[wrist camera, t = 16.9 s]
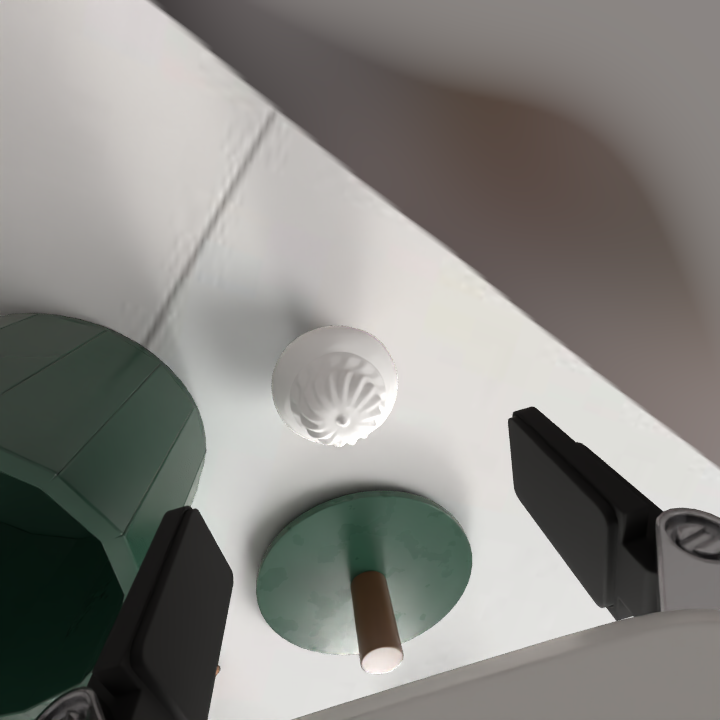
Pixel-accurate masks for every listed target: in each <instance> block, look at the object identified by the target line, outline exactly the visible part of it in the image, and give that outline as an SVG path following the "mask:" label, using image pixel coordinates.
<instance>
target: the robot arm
mask: <svg viewBox="0 0 720 720" xmlns="http://www.w3.org/2000/svg"><path fill="white" fill-rule="evenodd" d="M508 427H509V438H510V449H511V460H512V471H513V482H514V489H515V492H516V495H517V497H518V498H519V500H520V501H521V503H522V504H523V506H524V507H525V508H526V510H527V511H528V512H529V514H530V515H531V516H532V518H533V519H534V520H535V522H536V523H537V524H538V526H539V527H540V529H541V530H542V531H543V533H544V534H545V535H546V537H547V538H548V539H549V541H550V542H551V543H552V545H553V546H554V548H555V549H556V550H557V552H558V553H559V554H560V556H561V557H562V558H563V560H564V561H565V562H566V564H567V565H568V567H569V568H570V569H571V571H572V572H573V573H574V575H575V576H576V577H577V579H578V580H579V581H580V583H581V584H582V585H583V587H584V588H585V590H586V591H587V592H588V594H589V595H590V596H591V598H592V599H593V600H594V602H595V603H596V604H597V605H598V606H599V607H601V608H604V607H606V608H607V609H608V610H609V612H610V613H611V614H612V616H613V617H614V618H615V620H616V621H615V622H612V623H608V624H605V625H601V626H598V627H594V628H590V629H587V630H583V631H580V632H576V633H573V634H569V635H566V636H562V637H558V638H555V639H552V640H548V641H545V642H542V643H538V644H535V645H532V646H529V647H525V648H522V649H519V650H515V651H512V652H509V653H505V654H502V655H499V656H496V657H492V658H489V659H486V660H482V661H479V662H476V663H473V664H469V665H466V666H463V667H459V668H456V669H453V670H450V671H446V672H443V673H440V674H437V675H433V676H430V677H427V678H424V679H420V680H417V681H414V682H411V683H407V684H404V685H401V686H398V687H395V688H391V689H388V690H385V691H382V692H378V693H375V694H372V695H369V696H366V697H362V698H359V699H356V700H353V701H349V702H346V703H343V704H340V705H337V706H333V707H330V708H327V709H324V710H321V711H318V712H314V713H311V714H308V715H305V716H302V717H299V718H295V719H292V720H720V518H719V517H717V516H715V515H712V514H710V513H707V512H704V511H700V510H696V509H689V508H674V509H669V510H667V511H664V512H663V511H662V510H661V509H660V508H659V507H657V506H656V505H655V504H654V503H653V502H651V501H650V500H649V499H648V498H647V497H645V496H644V495H643V494H642V493H641V492H640V491H638V490H637V489H636V488H635V487H634V486H632V485H631V484H630V483H629V482H628V481H627V480H625V479H624V478H623V477H622V476H621V475H619V474H618V473H617V472H616V471H615V470H613V469H612V468H611V467H610V466H609V465H608V464H606V463H605V462H604V461H603V460H602V459H600V458H599V457H598V456H597V455H596V454H595V453H593V452H592V451H591V450H590V449H589V448H587V447H586V446H585V445H583V444H582V443H578V442H575V441H574V440H573V439H571V438H570V437H569V436H568V435H567V434H566V433H564V432H563V431H562V430H561V429H560V428H559V427H557V426H556V425H555V424H554V423H553V422H552V421H551V420H549V419H548V418H547V417H546V416H545V415H544V414H542V413H541V412H540V411H539V410H538V409H537V408H535V407H529V408H525V409H522V410H518V411H515V412H513V417H512V418H509V419H508ZM232 587H233V573H232V570H231V568H230V566H229V565H228V563H227V561H226V559H225V557H224V556H223V554H222V552H221V550H220V548H219V547H218V545H217V543H216V541H215V539H214V538H213V536H212V534H211V532H210V530H209V529H208V527H207V525H206V523H205V521H204V519H203V518H202V516H201V514H200V512H199V511H198V510H197V509H192V508H191V507H190V506H183V507H180V508H176V509H173V510H169V511H167V512H166V513H165V514H164V516H163V518H162V521H161V523H160V525H159V527H158V529H157V531H156V534H155V536H154V538H153V540H152V542H151V544H150V547H149V549H148V551H147V553H146V555H145V558H144V560H143V562H142V564H141V566H140V568H139V571H138V573H137V575H136V577H135V579H134V582H133V584H132V586H131V588H130V590H129V592H128V595H127V597H126V599H125V601H124V603H123V605H122V608H121V610H120V612H119V614H118V616H117V619H116V621H115V623H114V625H113V627H112V629H111V632H110V634H109V636H108V638H107V640H106V642H105V645H104V647H103V649H102V651H101V653H100V656H99V658H98V660H97V662H96V664H95V666H94V669H93V671H92V675H91V678H90V680H89V682H88V684H87V686H86V687H85V686H83V687H78V688H74V689H72V690H70V691H68V692H66V693H64V694H62V695H61V696H59V697H58V698H57V699H55V700H54V701H53V702H51V703H50V704H49V705H48V706H47V707H46V708H45V709H44V710H43V711H42V712H41V713H40V714H39V715H38V716H37V717H36V718H35V719H34V720H207V719H208V713H209V708H210V703H211V698H212V692H213V687H214V682H215V677H216V671H217V666H218V661H219V656H220V650H221V645H222V640H223V635H224V629H225V624H226V619H227V614H228V608H229V603H230V598H231V593H232ZM631 616H634V617H632V618H628V617H631ZM625 618H628V619H625ZM621 619H623V620H621ZM618 620H619V621H618Z"/></svg>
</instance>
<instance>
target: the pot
mask: <svg viewBox="0 0 720 720" xmlns="http://www.w3.org/2000/svg"><path fill="white" fill-rule="evenodd" d="M205 454H206V438H205V432H204V426H203V422H202V419H201V416H200V413H199V411H198V408H197V406H196V404H195V402H194V400H193V398H192V396H191V395H190V393H189V392H188V390H187V389H186V387H185V386H184V385H183V383H182V382H181V380H180V379H179V378H178V377H177V376H176V375H175V374H174V373H173V372H172V370H171V369H170V368H169V367H168V366H167V365H165V364H164V363H163V362H162V361H161V360H160V359H159V358H157V357H156V356H155V355H154V354H152V353H151V352H150V351H148V350H147V349H145V348H144V347H142V346H141V345H140V344H138V343H136V342H134V341H132V340H131V339H129V338H127V337H125V336H123V335H122V334H120V333H117V332H115V331H112V330H110V329H108V328H105V327H103V326H100V325H97V324H94V323H91V322H87V321H84V320H81V319H76V318H71V317H66V316H61V315H53V314H40V313H22V314H8V315H2V316H0V720H34V719H35V718H36V717H37V716H38V715H39V714H40V713H41V712H42V711H43V710H44V709H45V708H46V707H47V706H48V705H49V704H50V703H51V702H53V701H54V700H55V699H57V698H58V697H59V696H61V695H62V694H64V693H66V692H68V691H70V690H72V689H74V688H78V687H83V686H85V687H86V686H87V684H88V682H89V680H90V678H91V675H92V671H93V669H94V666H95V664H96V662H97V660H98V658H99V656H100V653H101V651H102V649H103V647H104V645H105V642H106V640H107V638H108V636H109V634H110V632H111V629H112V627H113V625H114V623H115V621H116V619H117V616H118V614H119V612H120V610H121V608H122V605H123V603H124V601H125V599H126V597H127V595H128V592H129V590H130V588H131V586H132V584H133V582H134V579H135V577H136V575H137V573H138V571H139V568H140V566H141V564H142V562H143V560H144V558H145V555H146V553H147V551H148V549H149V547H150V544H151V542H152V540H153V538H154V536H155V534H156V531H157V529H158V527H159V525H160V523H161V521H162V518H163V516H164V514H165V513H166V512H167V511H169V510H173V509H176V508H180V507H183V506H190V507H191V504H192V502H193V499H194V497H195V494H196V491H197V488H198V484H199V480H200V476H201V472H202V469H203V466H204V460H205Z"/></svg>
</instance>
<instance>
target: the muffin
mask: <svg viewBox="0 0 720 720" xmlns="http://www.w3.org/2000/svg"><path fill="white" fill-rule="evenodd" d="M397 391H398V375H397V371H396V367H395V364H394V362H393V359H392V357H391V355H390V353H389V351H388V350H387V348H386V347H385V346H384V345H383V343H382V342H380V341H379V340H378V339H377V338H376V337H375V336H373V335H371V334H370V333H368V332H365V331H363V330H360V329H356V328H352V327H346V326H332V325H331V326H326V327H320V328H317V329H314V330H311V331H309V332H306V333H304V334H302V335H301V336H299V337H298V338H296V339H295V340H294V341H293V342H292V343H291V344H290V345H289V346H288V347H287V348H286V349H285V350H284V351H283V353H282V354H281V356H280V357H279V359H278V361H277V363H276V366H275V368H274V371H273V376H272V395H273V400H274V404H275V406H276V409H277V411H278V413H279V415H280V417H281V418H282V420H283V421H284V423H285V424H286V425H287V426H288V427H289V428H290V429H291V430H292V431H293V432H295V433H296V434H298V435H299V436H301V437H303V438H305V439H307V440H310V441H313V442H316V443H321V444H323V445H330V444H333V445H334V446H336V447H341V446H343V445H344V444H345V443H348V444H350V445H354V444H355V443H356V441H357V439H358V438H367V434H369V433H370V432H372V431H374V430H375V429H376V428H378V427H379V426H380V425H381V424H382V423H383V422H384V421H385V419H386V418H387V417H388V415H389V413H390V412H391V410H392V408H393V405H394V403H395V400H396V396H397Z"/></svg>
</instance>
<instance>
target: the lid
mask: <svg viewBox="0 0 720 720" xmlns="http://www.w3.org/2000/svg"><path fill="white" fill-rule="evenodd" d="M471 568H472V552H471V547H470V544H469V541H468V539H467V536H466V534H465V532H464V530H463V529H462V527H461V525H460V524H459V522H458V521H457V520H456V519H455V518H454V517H453V516H452V514H451V513H449V512H448V511H447V510H446V509H444V508H443V507H442V506H440V505H438V504H436V503H435V502H433V501H431V500H429V499H426V498H423V497H421V496H418V495H414V494H410V493H406V492H398V491H366V492H358V493H354V494H349V495H344V496H341V497H338V498H335V499H332V500H329V501H327V502H324V503H322V504H320V505H317V506H315V507H313V508H312V509H310V510H308V511H306V512H305V513H303V514H301V515H300V516H299V517H297V518H296V519H295V520H293V521H292V522H290V523H289V524H288V525H287V526H286V527H285V528H284V529H283V530H282V531H281V532H280V533H279V534H278V535H277V536H276V538H275V539H274V540H273V541H272V543H271V544H270V546H269V547H268V549H267V551H266V552H265V554H264V556H263V559H262V561H261V563H260V567H259V571H258V575H257V586H256V595H257V602H258V605H259V608H260V611H261V614H262V615H263V617H264V619H265V620H266V622H267V623H268V624H269V626H270V627H271V628H272V629H273V630H274V631H275V632H276V633H277V634H278V635H280V636H281V637H282V638H284V639H285V640H287V641H289V642H290V643H292V644H294V645H297V646H299V647H301V648H304V649H307V650H310V651H314V652H319V653H324V654H334V655H354V654H359V656H360V664H361V667H362V669H363V670H364V671H366V672H367V673H370V674H383V673H387V672H390V671H392V670H394V669H395V668H397V667H398V666H399V665H400V664H401V662H402V660H403V650H402V646H401V644H402V643H404V642H406V641H409V640H411V639H413V638H415V637H416V636H418V635H420V634H422V633H423V632H425V631H427V630H428V629H430V628H431V627H433V626H434V625H435V624H436V623H438V622H439V621H440V620H441V619H442V618H443V617H444V616H446V615H447V614H448V613H449V612H450V610H451V609H452V608H453V607H454V606H455V605H456V603H457V602H458V600H459V599H460V597H461V596H462V594H463V592H464V590H465V588H466V586H467V584H468V581H469V578H470V575H471Z"/></svg>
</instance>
